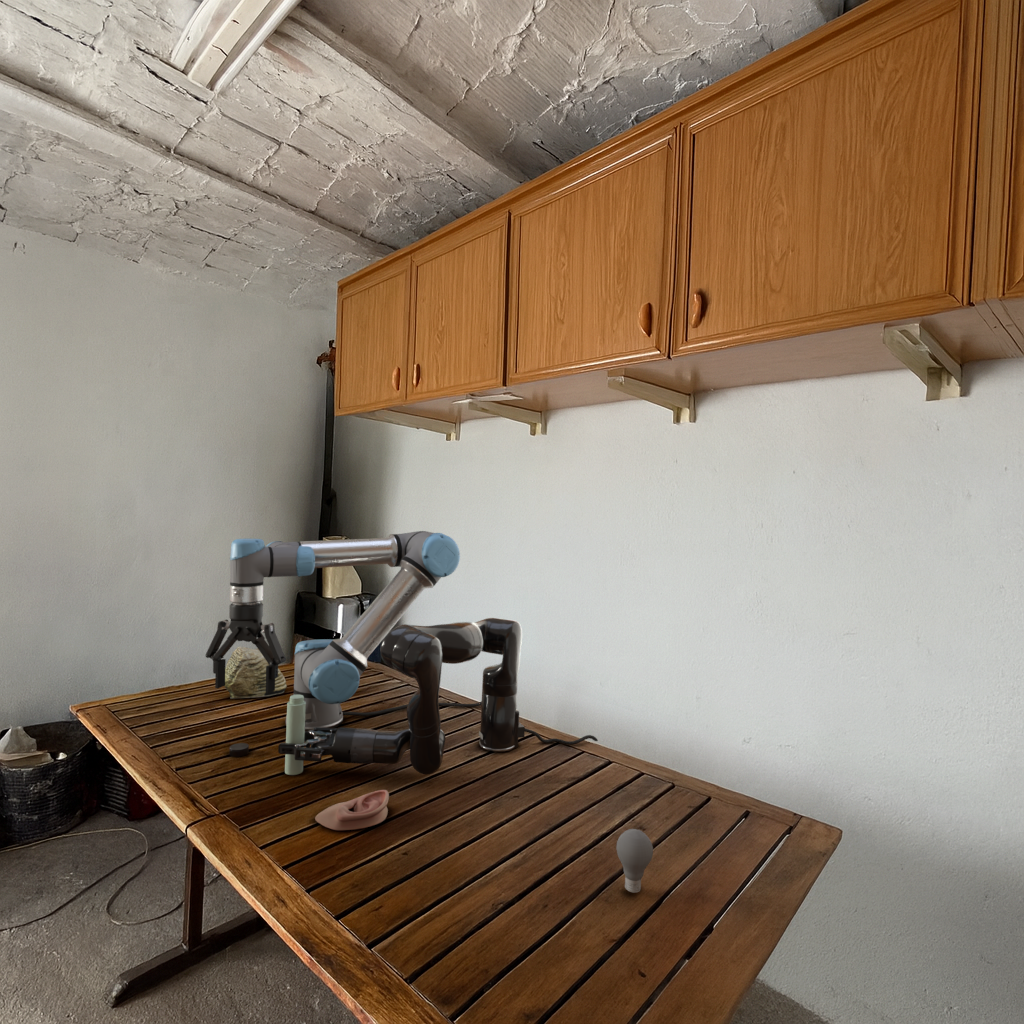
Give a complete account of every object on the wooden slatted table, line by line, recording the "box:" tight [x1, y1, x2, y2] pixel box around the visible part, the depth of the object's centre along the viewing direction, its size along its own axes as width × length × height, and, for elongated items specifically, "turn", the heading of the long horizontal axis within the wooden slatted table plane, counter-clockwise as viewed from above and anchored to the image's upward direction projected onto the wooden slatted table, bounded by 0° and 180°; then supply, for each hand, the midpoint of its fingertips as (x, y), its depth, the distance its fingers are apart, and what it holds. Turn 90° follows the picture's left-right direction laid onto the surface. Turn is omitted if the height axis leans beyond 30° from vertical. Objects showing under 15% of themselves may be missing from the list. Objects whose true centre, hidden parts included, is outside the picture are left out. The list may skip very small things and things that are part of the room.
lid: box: [228, 742, 250, 758], centre depth 154 cm, size 4×4×2 cm
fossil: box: [223, 646, 288, 699], centre depth 198 cm, size 9×18×15 cm, turn 132°
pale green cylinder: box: [284, 694, 306, 776], centre depth 145 cm, size 4×4×17 cm
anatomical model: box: [314, 789, 390, 831], centre depth 126 cm, size 13×4×12 cm
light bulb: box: [615, 828, 654, 894], centre depth 106 cm, size 6×6×10 cm
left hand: (245, 689), depth 154 cm, fingers open, 13 cm apart
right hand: (285, 741), depth 145 cm, fingers open, 7 cm apart
